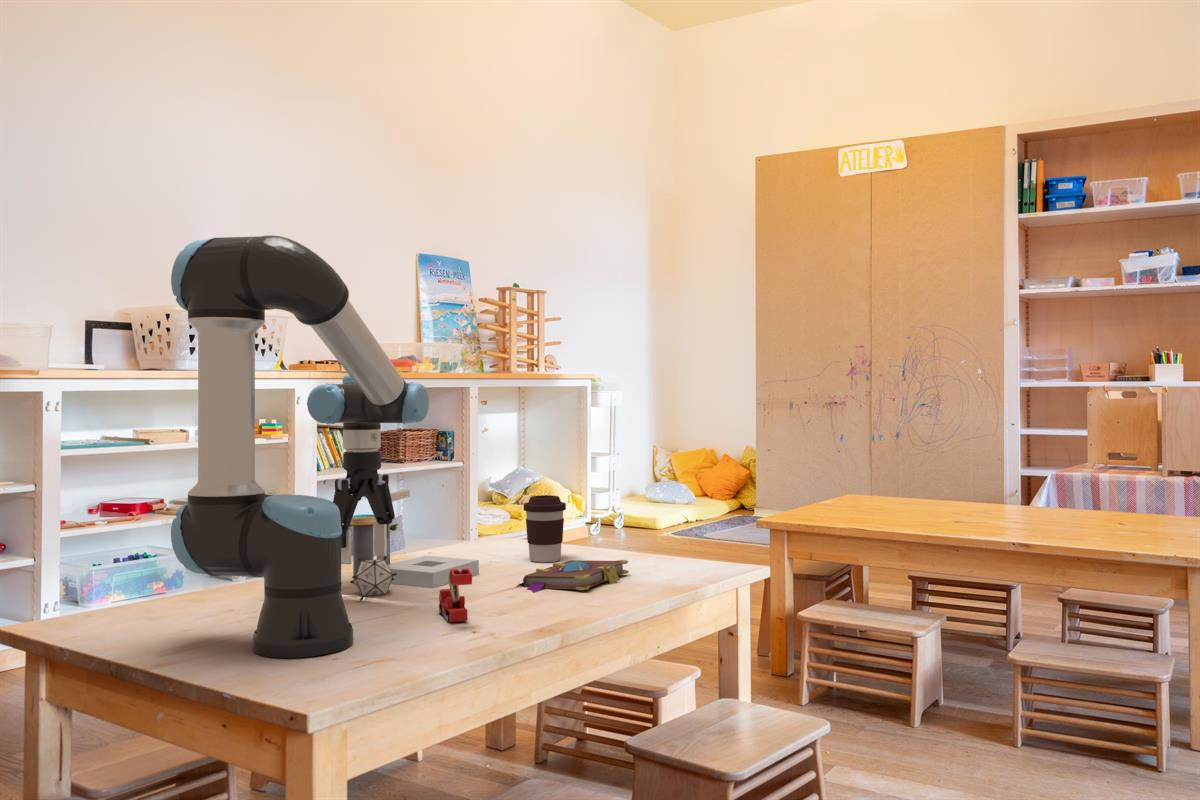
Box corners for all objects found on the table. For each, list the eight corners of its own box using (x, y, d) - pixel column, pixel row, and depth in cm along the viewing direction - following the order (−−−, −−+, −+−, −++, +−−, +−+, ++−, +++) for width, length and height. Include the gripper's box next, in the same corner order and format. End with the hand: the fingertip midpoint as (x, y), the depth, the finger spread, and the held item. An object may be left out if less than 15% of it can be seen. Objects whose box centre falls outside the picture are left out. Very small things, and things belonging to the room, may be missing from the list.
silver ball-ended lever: (413, 496, 225) (413, 489, 225) (387, 504, 210) (387, 497, 210) (399, 496, 226) (399, 489, 225) (372, 504, 210) (372, 497, 210)
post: (385, 581, 208) (384, 506, 208) (366, 579, 210) (365, 505, 210) (400, 577, 213) (399, 504, 213) (381, 575, 215) (381, 503, 215)
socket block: (433, 592, 196) (433, 572, 196) (377, 586, 202) (377, 567, 202) (478, 578, 210) (478, 560, 210) (425, 573, 216) (425, 555, 216)
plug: (364, 587, 198) (363, 520, 198) (346, 585, 201) (345, 519, 200) (380, 583, 202) (380, 517, 202) (362, 581, 205) (362, 516, 205)
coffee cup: (570, 562, 229) (569, 498, 229) (527, 565, 227) (527, 499, 226) (561, 555, 239) (561, 493, 238) (521, 557, 236) (520, 495, 236)
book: (510, 597, 198) (509, 572, 198) (568, 576, 220) (567, 553, 220) (583, 599, 190) (581, 573, 191) (635, 577, 213) (634, 554, 213)
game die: (379, 619, 190) (382, 583, 184) (340, 602, 191) (342, 566, 185) (402, 589, 197) (406, 553, 191) (365, 572, 198) (367, 537, 192)
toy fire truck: (455, 611, 180) (455, 557, 180) (473, 627, 167) (472, 570, 167) (437, 612, 179) (436, 559, 179) (453, 629, 166) (453, 572, 166)
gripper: (337, 454, 189) (338, 570, 189) (411, 447, 209) (412, 552, 210) (308, 453, 193) (309, 567, 193) (383, 447, 213) (384, 550, 213)
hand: (363, 559), depth 201 cm, fingers open, 10 cm apart
